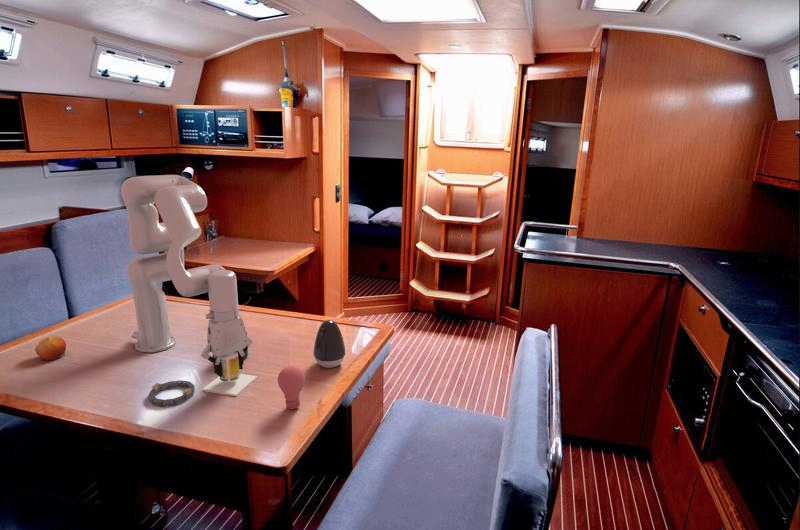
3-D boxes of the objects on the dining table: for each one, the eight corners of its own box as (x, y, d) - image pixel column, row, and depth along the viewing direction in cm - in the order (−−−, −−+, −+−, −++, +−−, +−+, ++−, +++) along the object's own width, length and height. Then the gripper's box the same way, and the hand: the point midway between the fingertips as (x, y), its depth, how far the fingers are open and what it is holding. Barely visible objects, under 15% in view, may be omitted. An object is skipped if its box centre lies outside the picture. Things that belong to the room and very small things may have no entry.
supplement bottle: (241, 373, 141) (239, 342, 138) (238, 382, 136) (235, 350, 133) (222, 374, 140) (219, 343, 137) (218, 383, 135) (215, 351, 132)
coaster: (202, 390, 134) (202, 388, 134) (225, 373, 145) (225, 371, 145) (236, 396, 132) (236, 394, 132) (257, 378, 142) (257, 376, 142)
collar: (139, 403, 128) (138, 395, 127) (169, 382, 138) (168, 375, 138) (175, 409, 125) (174, 401, 124) (202, 388, 136) (202, 380, 135)
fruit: (76, 351, 154) (58, 335, 149) (53, 369, 150) (34, 354, 145) (70, 343, 159) (51, 328, 154) (48, 361, 155) (28, 346, 150)
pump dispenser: (307, 368, 149) (305, 324, 145) (323, 355, 158) (322, 312, 154) (336, 374, 145) (335, 329, 141) (350, 360, 155) (350, 317, 151)
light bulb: (281, 400, 130) (279, 361, 127) (307, 399, 131) (305, 360, 128) (277, 415, 124) (274, 374, 120) (304, 414, 124) (302, 373, 121)
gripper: (200, 325, 124) (206, 386, 129) (259, 310, 136) (262, 366, 141) (188, 317, 129) (194, 376, 134) (246, 303, 141) (249, 358, 146)
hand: (229, 370), depth 137 cm, fingers closed on supplement bottle, 5 cm apart
